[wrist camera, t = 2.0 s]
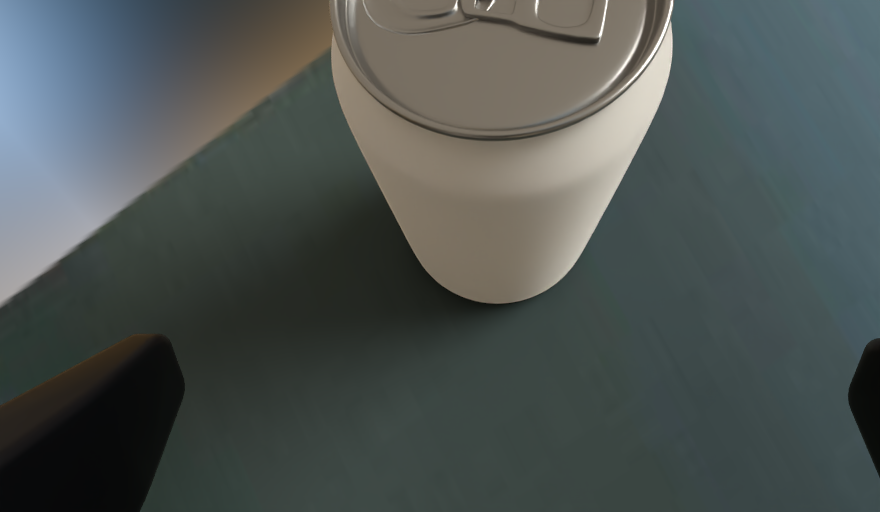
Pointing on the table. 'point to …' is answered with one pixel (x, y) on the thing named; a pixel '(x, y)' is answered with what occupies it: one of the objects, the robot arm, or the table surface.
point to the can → (499, 124)
